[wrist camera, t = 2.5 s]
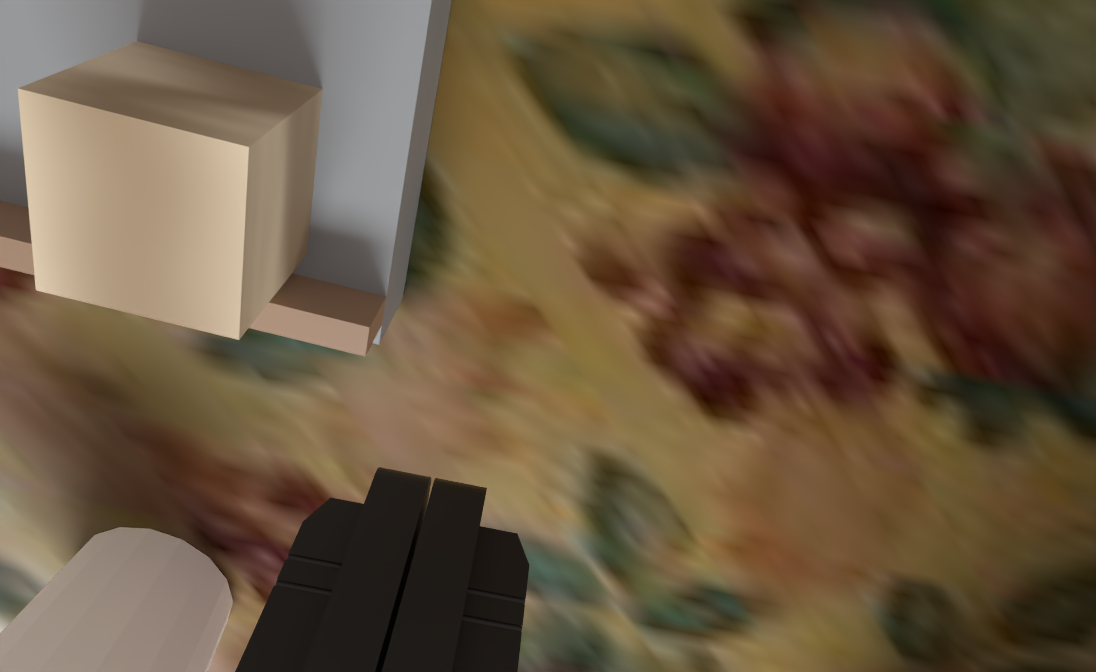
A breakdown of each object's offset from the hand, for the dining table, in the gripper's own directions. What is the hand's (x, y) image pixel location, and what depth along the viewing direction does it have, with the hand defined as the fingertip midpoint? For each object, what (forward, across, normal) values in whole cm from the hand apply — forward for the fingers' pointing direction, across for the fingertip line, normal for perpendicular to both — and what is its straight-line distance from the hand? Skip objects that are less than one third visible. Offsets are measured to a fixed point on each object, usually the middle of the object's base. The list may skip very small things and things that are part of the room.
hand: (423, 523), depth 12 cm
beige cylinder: (+12, +10, +17) cm, 23 cm away
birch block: (+9, +6, -1) cm, 11 cm away
